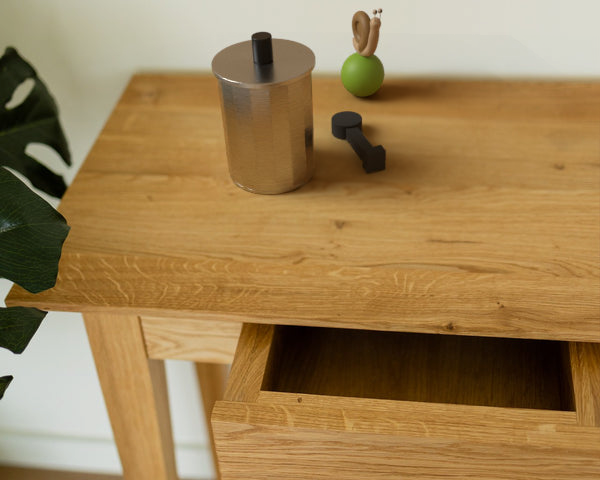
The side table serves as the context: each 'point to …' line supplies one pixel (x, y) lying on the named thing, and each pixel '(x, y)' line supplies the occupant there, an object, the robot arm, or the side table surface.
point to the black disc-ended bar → (358, 140)
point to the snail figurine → (363, 57)
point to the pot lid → (263, 62)
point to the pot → (269, 136)
